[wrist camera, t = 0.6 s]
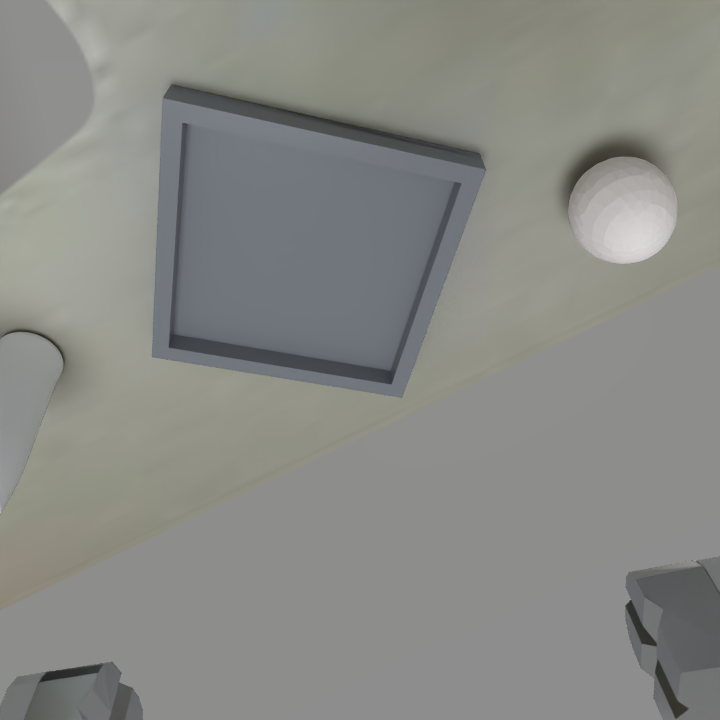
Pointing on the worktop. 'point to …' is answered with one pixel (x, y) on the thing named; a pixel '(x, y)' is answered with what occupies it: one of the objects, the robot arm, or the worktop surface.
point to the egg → (623, 210)
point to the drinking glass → (23, 400)
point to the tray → (301, 242)
